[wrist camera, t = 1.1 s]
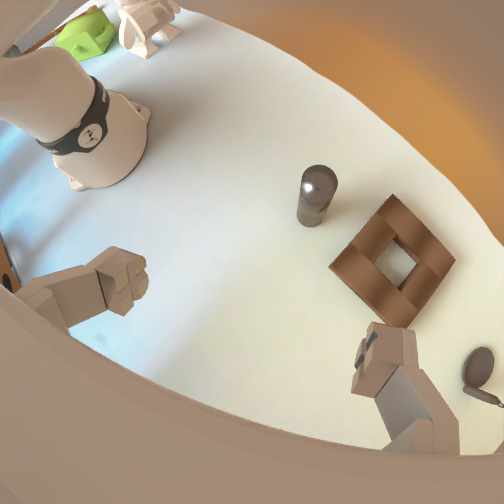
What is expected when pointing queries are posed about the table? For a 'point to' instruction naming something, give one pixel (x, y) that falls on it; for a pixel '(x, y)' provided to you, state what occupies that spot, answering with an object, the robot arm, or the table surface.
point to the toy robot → (146, 24)
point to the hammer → (15, 52)
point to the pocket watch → (479, 375)
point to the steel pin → (315, 194)
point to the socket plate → (375, 283)
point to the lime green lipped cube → (87, 35)
